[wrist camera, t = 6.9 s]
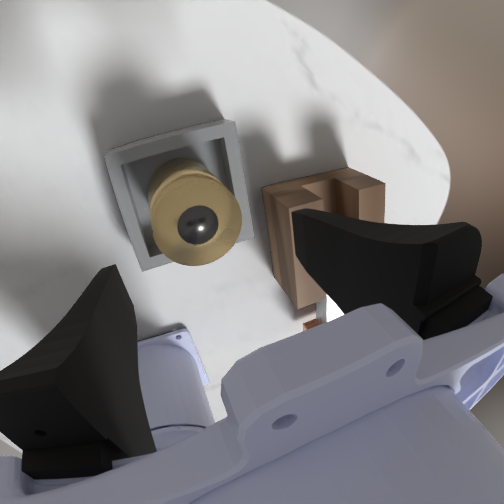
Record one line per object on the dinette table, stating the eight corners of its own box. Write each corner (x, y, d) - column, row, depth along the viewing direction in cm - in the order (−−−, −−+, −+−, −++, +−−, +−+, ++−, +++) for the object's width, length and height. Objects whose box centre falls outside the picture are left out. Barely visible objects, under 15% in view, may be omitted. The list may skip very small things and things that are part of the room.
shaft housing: (274, 277, 27) (298, 309, 23) (261, 187, 23) (288, 208, 19) (349, 251, 28) (379, 276, 24) (348, 167, 24) (385, 183, 20)
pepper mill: (157, 230, 21) (167, 277, 16) (139, 168, 18) (140, 196, 13) (219, 211, 21) (248, 251, 16) (206, 149, 19) (233, 169, 14)
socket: (141, 254, 22) (142, 271, 20) (108, 150, 18) (103, 156, 16) (243, 223, 23) (254, 237, 21) (224, 119, 19) (234, 121, 17)
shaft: (303, 335, 29) (320, 360, 26) (297, 250, 25) (319, 273, 22) (338, 320, 30) (358, 343, 27) (340, 236, 25) (366, 256, 22)
